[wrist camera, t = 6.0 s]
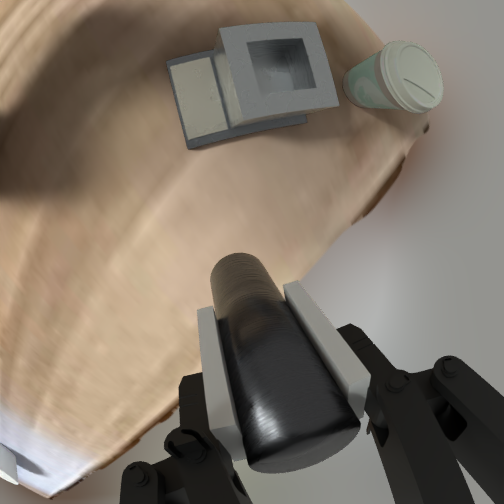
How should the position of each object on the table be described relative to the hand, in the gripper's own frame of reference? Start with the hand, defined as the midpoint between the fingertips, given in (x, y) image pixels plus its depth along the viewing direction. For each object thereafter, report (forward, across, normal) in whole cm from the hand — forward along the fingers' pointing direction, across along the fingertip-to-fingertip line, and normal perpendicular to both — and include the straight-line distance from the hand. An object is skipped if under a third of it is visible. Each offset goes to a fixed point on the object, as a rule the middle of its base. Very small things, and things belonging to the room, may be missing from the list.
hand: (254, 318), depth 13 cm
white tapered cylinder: (+21, -110, -55) cm, 125 cm away
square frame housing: (+21, +6, +14) cm, 26 cm away
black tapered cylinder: (+5, 0, 0) cm, 5 cm away
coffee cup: (+21, +22, +13) cm, 33 cm away
